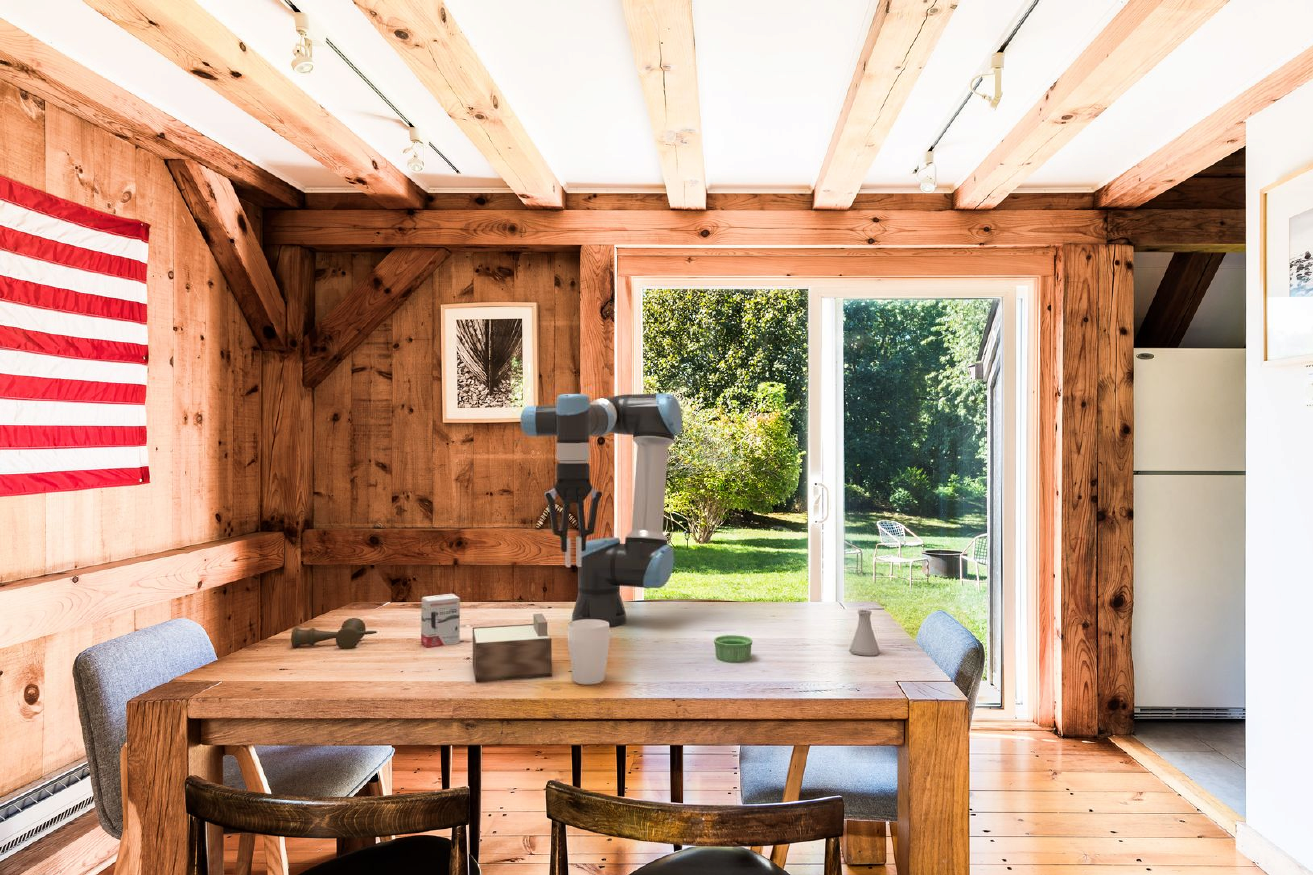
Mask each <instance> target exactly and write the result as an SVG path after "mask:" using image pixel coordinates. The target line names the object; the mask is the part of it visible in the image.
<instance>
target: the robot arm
mask: <svg viewBox="0 0 1313 875" xmlns="http://www.w3.org/2000/svg"><path fill="white" fill-rule="evenodd" d="M520 427H521V430H522V432H523V433H524V435H526V436H528V437H537V438H539V437H556V461H557V462H559V463H557V464H556V482H555V484H554V488H552V489H551V490H549V491H545V492H544V494H543V496H544V497H545V499H546V501H547V505H548V511H549V518H550V524H551V532H552V534H553V535H555V536H558V537H559V538H560V550H561V552H562V553H565V560H564V562H565V563H564V565H565V567H566V568H571V560H572V559H571V557H572V556H571V542H572V541H571V537H569V536H568V532H569V522H570V521H569V520H570V519H569V518H570V509H571V504H574V503H575V504H576V511H577V513H576V514H577V524H578V534H579V536H576V537H575V565H576V567H577V569H578V570H577V576H578V578H577V579H578V581H577V582H578V586H577V588H578V589H577V590H578V593H577V598H576V601H575V604H574V607H573V609H572V610H573V611H572V614H571V622H572V621H576V620H584V619H597V620H604V621H607V622H609V628H611V627H617V626H620V625H624V624H626V622H627V611H626V609H625V605H624V602H623V600H622V595H621V588H620V587H629V588H642V589H644V588H645V589H661V588H664V586H665V585H666V584H667V583H668V581H669V579H670V577H672V576H671V575H672V572H673V568H674V564H675V562H674V561H675V555H674V554H675V553H674V549H673V547H672V546H670V545H669V544H668V538H667V536H665V535H664V533H663V530H664V528H663V527H664V515H665V514H664V513H665V512H664V511H665V499H666V497H665V496H666V483H667V468H668V451H669V448H670V447H671V445H673V444H674V441H675V436H678V435H680V434H681V433H682V429H683V413H682V409H681V406H680V404H679V401H678V399H677V397H676V396H674V395H673V394H671V393H660V392H656V393H637V394H636V393H635V394H631V393H630V394H628V393H627V394H619V395H614V396H609V397H604V398H597V399H594V400H592V401H591V400H590V397H589V395H588V394H583V393H564V394H563V393H562V394H559V395H558V396H557V399H556V404H551V405H550V404H549V405H547V404H546V405H536V404H535V405H530V406H526V407H524V409H523V410H522V412H521V414H520ZM608 434H617V435H624V436H625V435H629V436H632V441H633V442H634V443H635V445H636V446H637V450H636V462H635V463H636V464H635V476H634V477H635V478H634V490H633V504H632V518H631V519H632V520H631V530H630V532H629V533H627V535H626V536H625V540H624V543H621V539H620V538H619V537H605V538H603V537H602V538H596V539H591V540H587V537H588V536H591V535H592V534H594V533H595V529H596V521H597V516H598V515H597V514H598V508H599V502H600V501H601V500H600V499H601V498H602V496H603V492H602V491H599V490H597V489H595V488H593V485H592V484H591V474H590V473H591V472H590V471H591V470H590V468H591V464H589V463H588V461H590V459H591V456H590V455H591V450H590V448H591V445H590V444H591V442H590V440H591V439H590V437H594V438H595V437H597V438H599V437H602V436H606V435H608ZM556 494H557V495H558V497H559V499H561V501H562V512H561V524H560V529H559V520H558V515H557V508H556V503H555V499H557V498H556ZM589 495H590V498H591V501H590V507H589V513H588V520H587V527H586V515H585V503H584V502H585V500H586V499H587V497H588V496H589Z"/></svg>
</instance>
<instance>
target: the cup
mask: <svg viewBox="0 0 1313 875" xmlns="http://www.w3.org/2000/svg"><path fill="white" fill-rule="evenodd" d="M567 625H568V626H567V645H568V653H569V654H568V655H569V659H570V660H569V662H570V667H571V674H572V681H573V682H574V683H576V684H579V685H584V686H586V685H587V686H591V685H597V684H600V683H603V682H604V681H605V679H606V678H605V677H606V671H607V664H608V663H607V662H608V656H609V655H608V654H609V649H610V648H609V647H610V641H611V632H610V631H611V630H610V627H609V622H607V621H604V620H597V619H584V620H576V621H572V620H571V621H570V622H569V623H568V624H567Z"/></svg>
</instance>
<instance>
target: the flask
mask: <svg viewBox="0 0 1313 875" xmlns="http://www.w3.org/2000/svg"><path fill="white" fill-rule="evenodd" d="M857 614H858V624H857V628H856V631H855V634H854V637H853V639H852V641H851V645H850V647H849V652H850V653H851V654H853V655H859V656H866V657H867V656H874V657H876V656H878V655H879V654H881V651H880V648H879V645H878V642H877V640H876V637H875V634H874V630H873V628H872V622H871V621H872V620H871V615H872V611H871V610H869V609H858V610H857Z"/></svg>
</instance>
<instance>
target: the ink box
mask: <svg viewBox="0 0 1313 875" xmlns="http://www.w3.org/2000/svg"><path fill="white" fill-rule="evenodd" d="M460 601H461V598H460V597H459V596H457V595H456V594H454V593H447V594H438V595H430V596H429V595H428V596H423V597H421V612H420V613H421V615H420V618H421V621H420V622H421V623H420V644H421V645H422V646H424V647H426V648H427V649H428V648H429V649H430V648H434V647H442V646H443V647H444V646H450V645H455V644H456V645H458V644H460V643H461V642H460V638H461V636H460V633H461V630H460V628H461V624H460V621H461V620H460V617H461V614H460V612H461V607H460V606H461V602H460ZM457 643H458V644H457Z"/></svg>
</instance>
